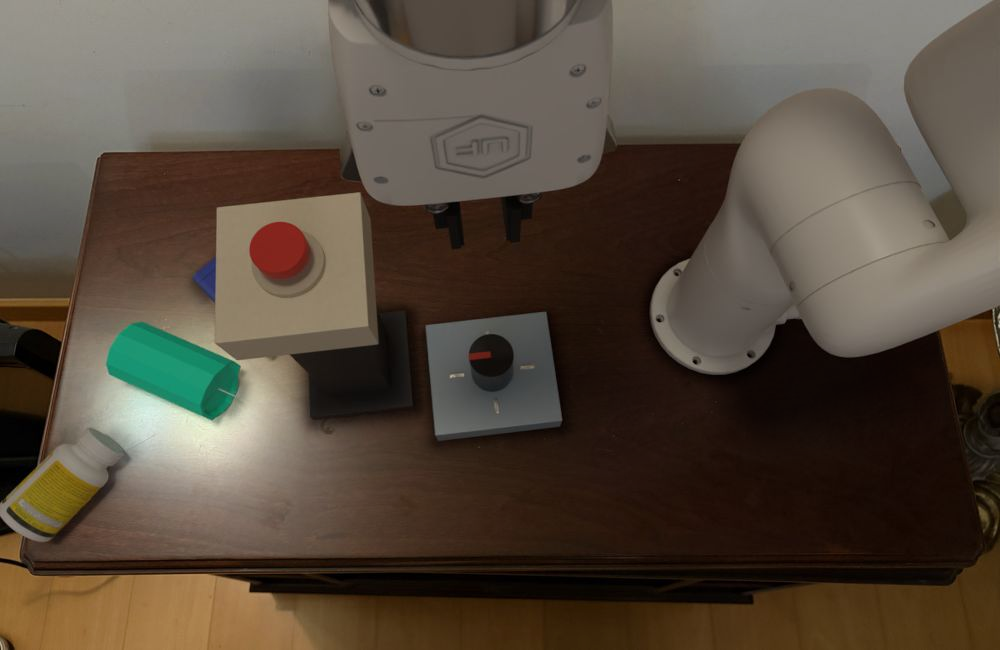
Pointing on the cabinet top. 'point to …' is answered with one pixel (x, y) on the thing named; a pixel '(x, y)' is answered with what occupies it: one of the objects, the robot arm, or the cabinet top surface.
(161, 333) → the candle
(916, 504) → the cabinet top surface
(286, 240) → the power button
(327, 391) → the switch tower
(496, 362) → the dial
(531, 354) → the dial panel
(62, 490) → the supplement bottle
